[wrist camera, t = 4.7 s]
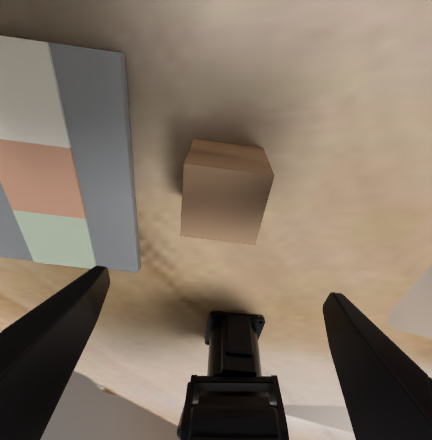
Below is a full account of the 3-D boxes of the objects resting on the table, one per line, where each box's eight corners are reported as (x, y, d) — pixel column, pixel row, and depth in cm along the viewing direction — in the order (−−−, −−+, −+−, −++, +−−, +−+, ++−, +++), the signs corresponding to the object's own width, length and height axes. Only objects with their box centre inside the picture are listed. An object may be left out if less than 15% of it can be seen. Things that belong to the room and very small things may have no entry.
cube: (249, 206, 20) (255, 244, 16) (189, 199, 20) (180, 235, 16) (262, 147, 17) (274, 175, 13) (194, 138, 17) (183, 163, 13)
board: (140, 266, 24) (137, 273, 24) (-1, 250, 24) (-9, 257, 23) (124, 53, 14) (118, 52, 14) (-119, 17, 14) (-141, 15, 13)
